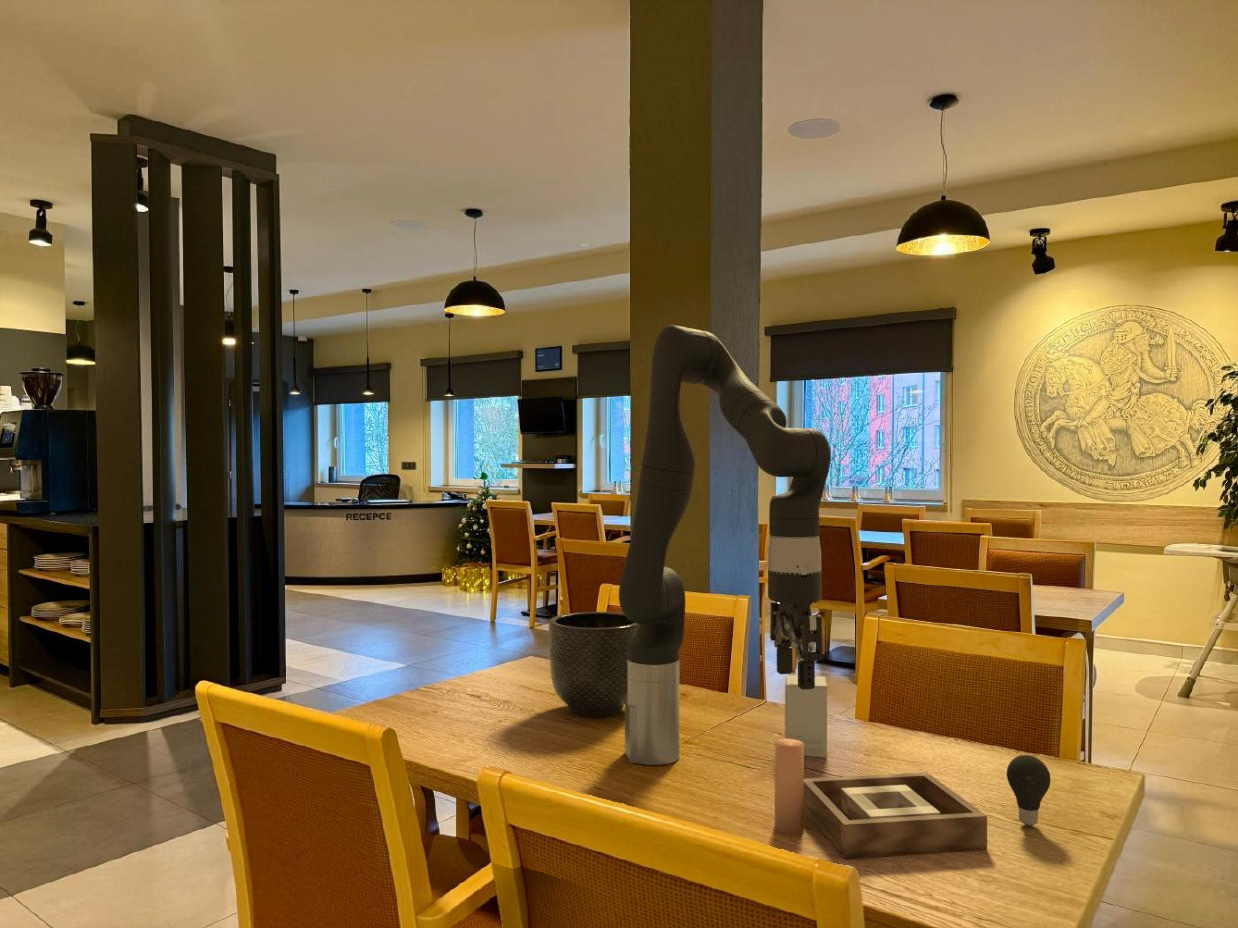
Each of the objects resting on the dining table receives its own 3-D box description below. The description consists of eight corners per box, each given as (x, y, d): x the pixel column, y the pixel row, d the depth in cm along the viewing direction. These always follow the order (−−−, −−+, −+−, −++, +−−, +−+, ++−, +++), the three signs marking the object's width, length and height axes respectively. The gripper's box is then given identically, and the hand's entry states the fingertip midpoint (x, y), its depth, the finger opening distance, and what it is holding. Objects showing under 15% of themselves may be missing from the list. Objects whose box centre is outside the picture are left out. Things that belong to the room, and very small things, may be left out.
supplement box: (827, 758, 146) (827, 686, 146) (784, 755, 148) (784, 683, 148) (825, 744, 154) (825, 675, 154) (784, 741, 155) (784, 673, 155)
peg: (780, 834, 116) (780, 748, 116) (770, 822, 120) (771, 739, 120) (807, 833, 116) (807, 747, 116) (797, 821, 120) (797, 737, 120)
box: (844, 858, 109) (844, 824, 109) (801, 808, 125) (801, 778, 125) (987, 849, 111) (987, 815, 111) (927, 801, 127) (927, 772, 127)
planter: (660, 706, 178) (659, 617, 178) (609, 731, 161) (609, 632, 161) (584, 692, 188) (584, 608, 188) (529, 714, 172) (529, 622, 172)
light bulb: (998, 818, 121) (998, 749, 121) (1035, 817, 122) (1035, 748, 122) (1020, 835, 116) (1020, 763, 116) (1059, 833, 116) (1059, 762, 116)
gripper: (753, 562, 126) (754, 670, 126) (786, 574, 112) (787, 695, 112) (801, 561, 127) (801, 668, 127) (839, 572, 113) (840, 692, 113)
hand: (795, 680), depth 119 cm, fingers open, 8 cm apart
